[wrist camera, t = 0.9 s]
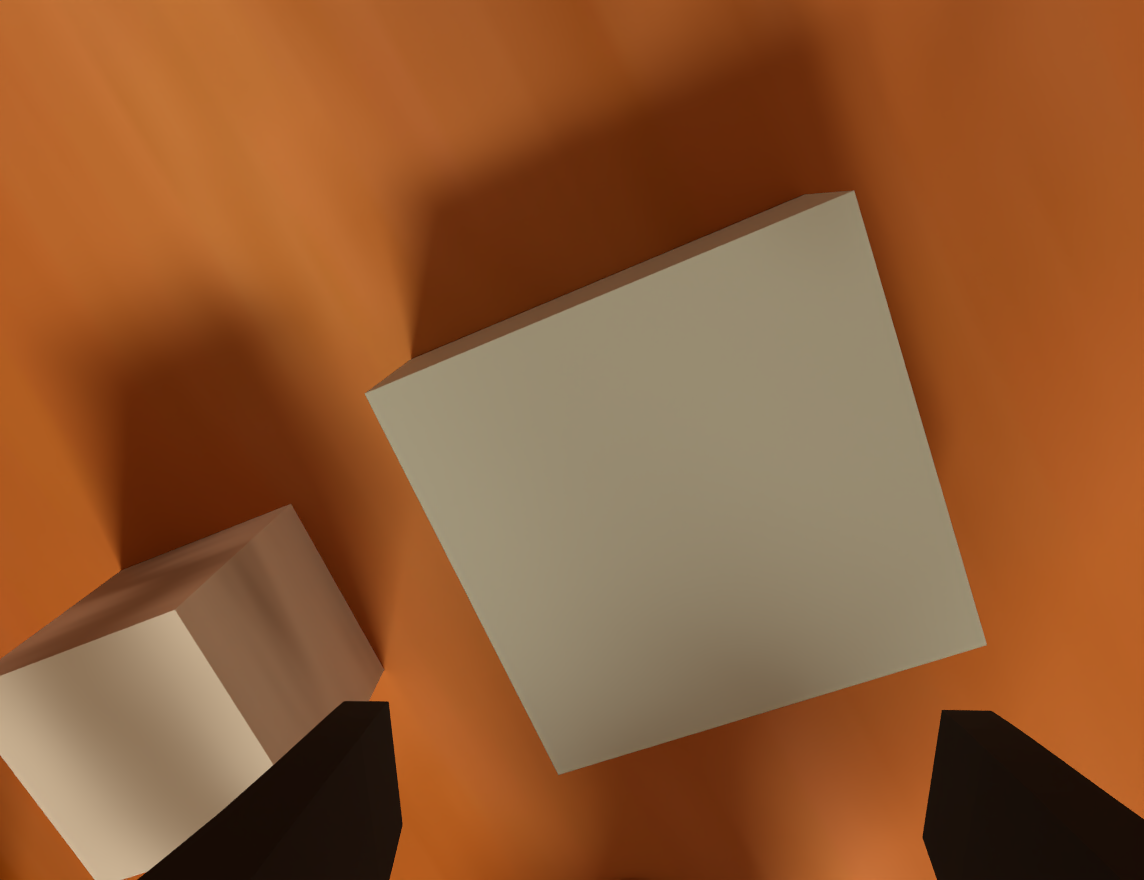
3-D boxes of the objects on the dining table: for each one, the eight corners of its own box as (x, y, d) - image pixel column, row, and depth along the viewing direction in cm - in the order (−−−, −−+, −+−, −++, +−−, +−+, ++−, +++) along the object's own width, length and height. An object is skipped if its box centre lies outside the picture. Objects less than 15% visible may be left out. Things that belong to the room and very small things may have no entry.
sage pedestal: (567, 683, 21) (558, 774, 17) (410, 359, 18) (364, 393, 15) (921, 568, 19) (987, 644, 16) (804, 194, 16) (854, 190, 13)
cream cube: (223, 723, 22) (100, 886, 17) (123, 569, 20) (-46, 693, 15) (385, 668, 21) (309, 821, 16) (292, 502, 19) (174, 609, 14)
